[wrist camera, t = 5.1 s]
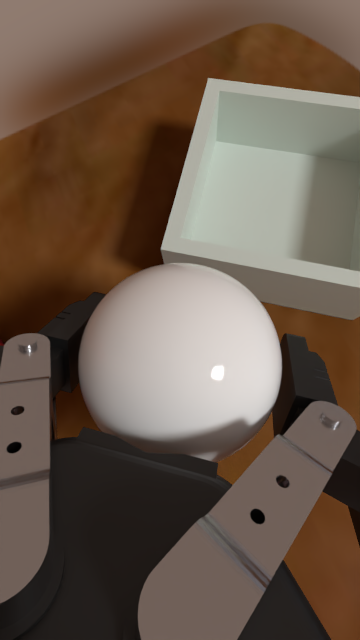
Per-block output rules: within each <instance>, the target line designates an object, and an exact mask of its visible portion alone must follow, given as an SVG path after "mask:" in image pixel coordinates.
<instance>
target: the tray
mask: <svg viewBox="0 0 360 640" xmlns="http://www.w3.org/2000/svg"><path fill="white" fill-rule="evenodd" d="M161 253H162V257H163V261H164V264H168V263H192V264H198V265H203V266H207V267H210V268H213V269H216V270H219V271H221V272H223V273H225V274H227V275H229V276H231V277H233V278H234V279H236V280H237V281H239V282H240V283H242V284H243V285H244V286H245V287H247V288H248V289H249V290H250V291H251V292H252V293H253V294H254V295H255V296H256V297H257V299H258V300H259V301H261V302H266V303H271V304H276V305H281V306H285V307H290V308H295V309H300V310H305V311H310V312H315V313H320V314H324V315H329V316H334V317H339V318H344V319H349V320H354V319H356V318H357V317H359V316H360V97H353V96H345V95H337V94H329V93H321V92H313V91H305V90H298V89H290V88H282V87H274V86H266V85H258V84H250V83H242V82H235V81H227V80H219V79H211V78H208V82H207V85H206V89H205V92H204V96H203V99H202V103H201V107H200V110H199V114H198V117H197V121H196V124H195V128H194V132H193V135H192V139H191V142H190V146H189V150H188V153H187V157H186V160H185V164H184V167H183V171H182V175H181V178H180V182H179V185H178V189H177V192H176V196H175V200H174V203H173V207H172V210H171V214H170V217H169V221H168V225H167V228H166V232H165V235H164V239H163V242H162V246H161Z"/></svg>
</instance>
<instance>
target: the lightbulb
mask: <svg viewBox="0 0 360 640" xmlns="http://www.w3.org/2000/svg"><path fill="white" fill-rule="evenodd" d="M78 375H79V383H80V389H81V393H82V396H83V399H84V402H85V405H86V407H87V409H88V412H89V414H90V416H91V417H92V419H93V421H94V422H95V424H96V425H97V427H98V428H99V429H100V431H101V432H104V433H108V434H111V435H115V436H117V437H119V438H121V439H122V440H124V441H126V442H128V443H130V444H131V445H133V446H135V447H137V448H139V449H141V450H142V451H144V452H148V453H173V454H186V455H190V456H194V457H197V458H201V459H205V460H208V461H212V462H218V461H221V460H223V459H225V458H227V457H229V456H231V455H232V454H234V453H236V452H237V451H239V450H240V449H241V448H243V447H244V446H245V445H246V444H248V443H249V442H250V441H251V440H252V439H253V438H254V437H255V436H256V434H257V433H258V432H259V431H260V430H261V428H262V427H263V425H264V424H265V423H266V421H267V419H268V418H269V416H270V414H271V412H272V410H273V407H274V405H275V402H276V400H277V396H278V393H279V389H280V384H281V377H282V355H281V348H280V343H279V339H278V335H277V332H276V329H275V327H274V324H273V322H272V320H271V318H270V316H269V314H268V313H267V311H266V309H265V308H264V306H263V305H262V304H261V302H260V301H259V300H258V299H257V297H256V296H255V295H254V294H253V293H252V292H251V291H250V290H249V289H248V288H247V287H245V286H244V285H243V284H242V283H240V282H239V281H237V280H236V279H234V278H233V277H231V276H229V275H227V274H225V273H223V272H221V271H219V270H216V269H213V268H210V267H207V266H203V265H198V264H192V263H168V264H162V265H157V266H153V267H149V268H146V269H144V270H141V271H139V272H137V273H135V274H133V275H131V276H129V277H127V278H126V279H124V280H123V281H121V282H120V283H119V284H117V285H116V286H115V287H114V288H113V289H111V290H110V291H109V292H108V293H107V294H106V295H105V297H104V298H103V299H102V300H101V301H100V303H99V304H98V305H97V307H96V308H95V310H94V311H93V313H92V315H91V316H90V318H89V320H88V323H87V325H86V327H85V330H84V333H83V336H82V339H81V343H80V348H79V356H78Z"/></svg>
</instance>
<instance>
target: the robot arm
mask: <svg viewBox="0 0 360 640" xmlns="http://www.w3.org/2000/svg"><path fill="white" fill-rule="evenodd" d="M105 295H106V294H102V293H97V292H94V293H92V294H91V295H90V296H89V297H88V298H87V299H86V300H85V301H78V302H75V303H73V304H71V305H69V306H68V307H66V308H65V309H64V310H63V311H62V313H59V314H58V315H57V316H56V318H54V319H53V320H51V321H50V322H49V323H48V324H47V325H46V326H45V327H43V328H42V329H41V330H40V331H39V332H38V333H27V334H21V335H18V336H15V337H13V338H11V339H10V340H8V341H7V342H6V344H5V345H4V346H0V640H331V639H330V637H329V635H328V634H327V632H326V630H325V629H324V627H323V625H322V624H321V622H320V620H319V619H318V617H317V615H316V614H315V612H314V610H313V609H312V607H311V605H310V604H309V602H308V600H307V599H306V597H305V595H304V594H303V592H302V590H301V588H300V587H299V585H298V583H297V582H296V580H295V578H294V577H293V575H292V573H291V572H290V570H289V568H288V567H287V565H286V563H285V562H284V560H283V558H284V556H285V555H286V553H287V551H288V550H289V548H290V546H291V544H292V543H293V541H294V539H295V537H296V536H297V534H298V532H299V530H300V529H301V527H302V525H303V523H304V522H305V520H306V518H307V517H308V515H309V513H310V511H311V510H312V508H313V506H314V504H315V503H316V501H317V499H318V497H319V496H320V494H321V492H322V491H323V492H325V493H326V494H328V495H330V496H332V497H333V498H335V499H337V500H339V501H340V502H342V503H344V504H346V505H348V508H349V511H350V515H351V518H352V522H353V525H354V529H355V532H356V536H357V539H358V542H359V546H360V432H359V431H358V430H356V424H355V422H354V420H353V418H352V417H351V416H350V415H349V414H348V413H347V412H346V411H345V410H344V409H342V408H341V407H339V406H338V404H337V401H336V398H335V395H334V391H333V388H332V385H331V382H330V381H329V380H330V379H329V376H328V373H327V369H326V366H325V363H324V361H323V360H322V359H321V358H320V357H319V355H318V354H317V353H315V352H310V351H308V347H307V343H306V339H305V338H304V337H300V336H296V335H291V334H286V333H285V334H284V335H283V337H282V340H281V343H280V348H281V355H282V377H281V384H280V389H279V393H278V396H277V400H276V402H275V405H274V407H273V410H272V414H273V430H274V439H273V440H272V441H271V442H270V444H269V445H268V446H267V447H266V448H265V449H264V450H263V452H262V453H261V454H260V455H259V456H258V457H257V458H256V460H255V461H254V462H253V463H252V464H251V465H250V466H249V467H248V469H247V470H246V471H245V472H244V473H243V474H242V475H241V477H240V478H239V479H238V480H237V481H236V482H235V483H234V485H232V484H230V483H229V482H228V481H226V480H225V479H223V478H222V477H220V476H218V475H217V467H218V463H216V462H212V461H208V460H205V459H201V458H197V457H194V456H190V455H186V454H173V453H148V452H144V451H142V450H141V449H139V448H137V447H135V446H133V445H131V444H130V443H128V442H126V441H124V440H122V439H121V438H119V437H117V436H115V435H111V434H108V433H104V432H100V431H96V430H93V429H89V428H85V427H83V429H82V430H81V432H80V434H79V435H78V437H70V438H62V439H57V413H56V394H57V393H58V392H59V391H60V390H62V391H65V392H69V393H71V392H72V391H73V390H74V388H75V387H76V386H77V384H78V383H79V375H78V356H79V348H80V343H81V339H82V336H83V333H84V330H85V327H86V325H87V323H88V320H89V318H90V316H91V315H92V313H93V311H94V310H95V308H96V307H97V305H98V304H99V303H100V301H101V300H102V299H103V298H104V297H105Z"/></svg>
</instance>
